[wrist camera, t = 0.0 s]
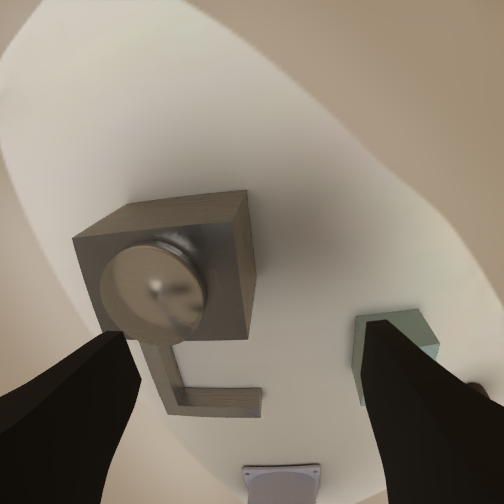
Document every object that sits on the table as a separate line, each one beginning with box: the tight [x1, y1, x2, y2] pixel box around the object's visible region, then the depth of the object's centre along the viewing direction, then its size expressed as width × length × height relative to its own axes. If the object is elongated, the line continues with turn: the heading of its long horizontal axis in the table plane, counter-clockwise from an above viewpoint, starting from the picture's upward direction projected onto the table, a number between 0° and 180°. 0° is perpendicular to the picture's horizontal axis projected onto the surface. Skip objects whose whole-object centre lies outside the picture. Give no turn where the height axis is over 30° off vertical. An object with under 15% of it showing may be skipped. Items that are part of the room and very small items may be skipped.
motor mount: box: [72, 190, 262, 418], centre depth 17 cm, size 16×8×7 cm, turn 6°
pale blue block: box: [352, 309, 440, 406], centre depth 18 cm, size 4×4×5 cm
